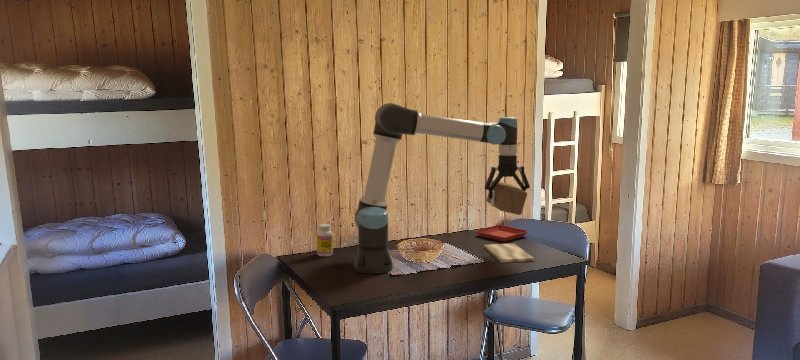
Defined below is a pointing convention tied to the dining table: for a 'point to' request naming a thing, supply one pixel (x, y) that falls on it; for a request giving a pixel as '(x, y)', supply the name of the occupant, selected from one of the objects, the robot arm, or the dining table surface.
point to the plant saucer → (501, 233)
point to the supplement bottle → (324, 240)
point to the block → (508, 198)
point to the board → (508, 253)
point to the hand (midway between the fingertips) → (506, 205)
